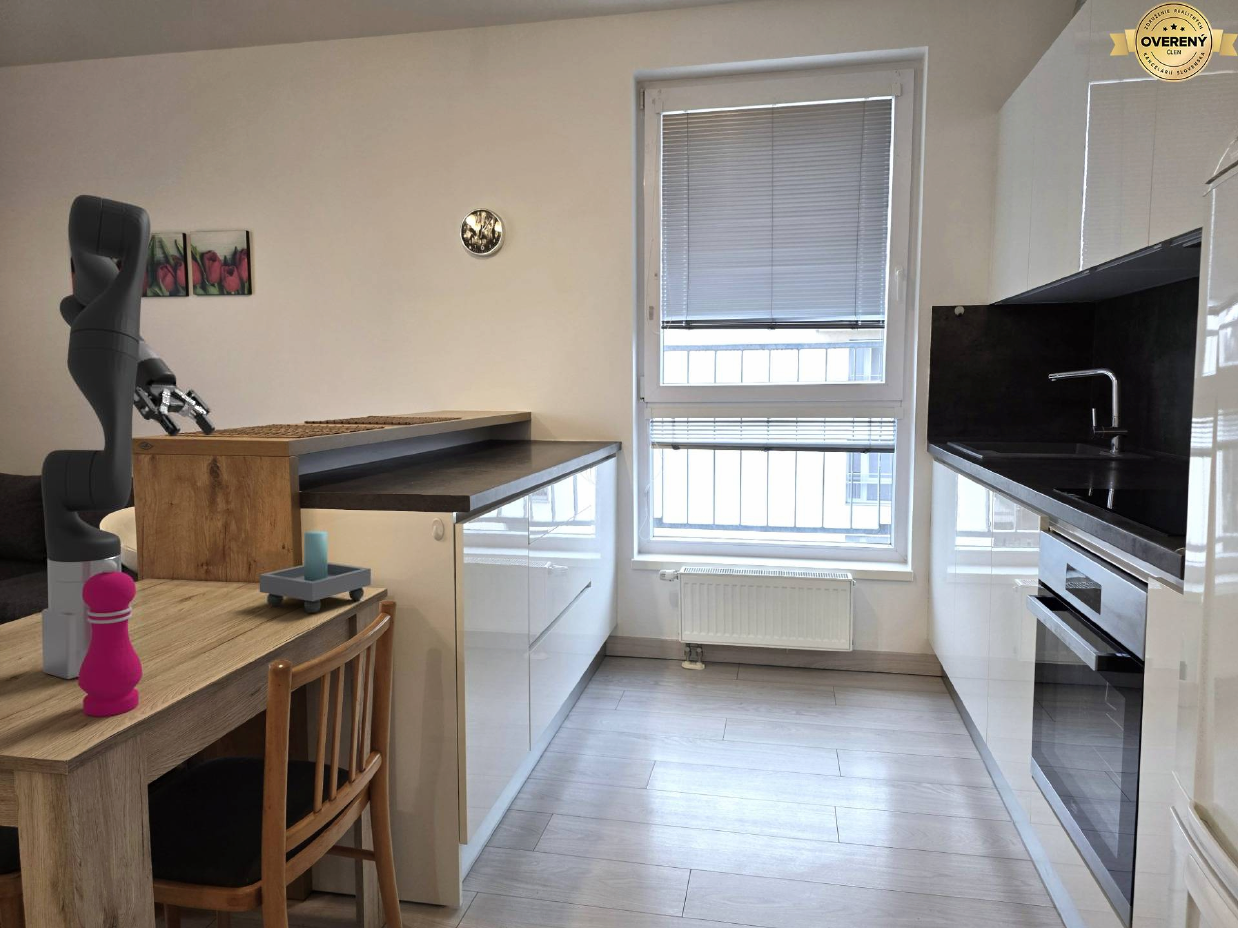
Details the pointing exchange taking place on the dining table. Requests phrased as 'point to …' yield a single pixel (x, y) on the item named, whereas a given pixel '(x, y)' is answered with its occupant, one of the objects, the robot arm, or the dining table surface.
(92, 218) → the robot arm
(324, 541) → the teal cylinder
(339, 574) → the grey square tray
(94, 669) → the pepper mill
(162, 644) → the dining table surface
